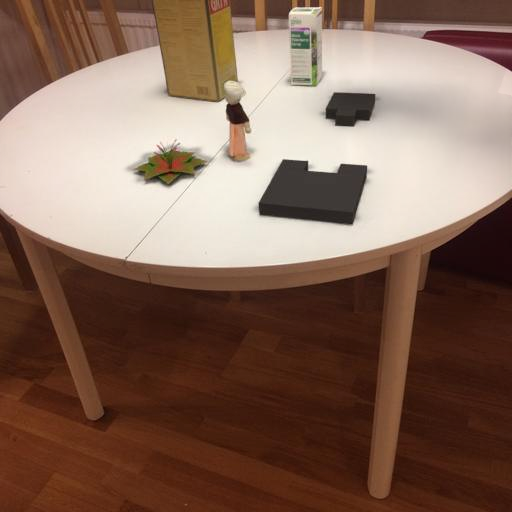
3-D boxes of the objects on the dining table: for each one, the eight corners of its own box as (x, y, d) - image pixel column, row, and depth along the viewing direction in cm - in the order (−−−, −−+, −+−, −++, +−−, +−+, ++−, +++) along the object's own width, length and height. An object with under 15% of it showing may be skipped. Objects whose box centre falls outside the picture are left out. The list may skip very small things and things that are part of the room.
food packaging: (241, 86, 114) (228, -44, 99) (219, 102, 108) (201, -35, 93) (190, 81, 120) (170, -43, 104) (166, 96, 113) (141, -34, 98)
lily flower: (119, 174, 86) (113, 149, 83) (173, 146, 93) (169, 122, 90) (168, 195, 80) (162, 168, 77) (222, 163, 86) (219, 137, 84)
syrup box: (290, 85, 112) (287, 13, 104) (297, 76, 117) (295, 5, 108) (316, 86, 111) (315, 12, 102) (322, 76, 115) (322, 5, 106)
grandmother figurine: (217, 153, 89) (207, 79, 82) (235, 145, 91) (226, 73, 83) (245, 168, 84) (237, 90, 77) (263, 159, 86) (257, 83, 79)
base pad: (366, 177, 79) (367, 165, 78) (352, 224, 69) (353, 212, 68) (283, 170, 83) (283, 159, 82) (259, 215, 73) (258, 202, 72)
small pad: (374, 103, 101) (375, 93, 100) (366, 127, 93) (367, 116, 92) (333, 102, 103) (333, 92, 102) (322, 124, 95) (322, 114, 94)
